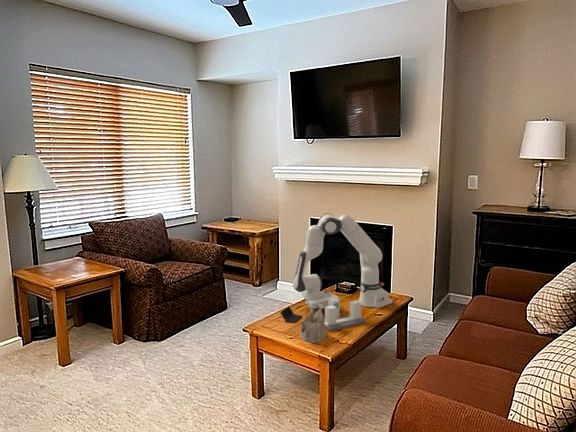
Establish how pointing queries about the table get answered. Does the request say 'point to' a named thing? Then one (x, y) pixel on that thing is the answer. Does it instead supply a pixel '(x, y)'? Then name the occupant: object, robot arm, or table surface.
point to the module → (335, 303)
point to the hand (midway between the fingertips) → (330, 305)
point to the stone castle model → (313, 327)
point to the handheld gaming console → (290, 315)
